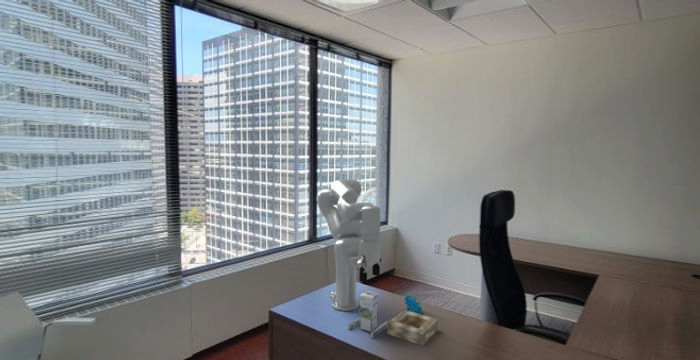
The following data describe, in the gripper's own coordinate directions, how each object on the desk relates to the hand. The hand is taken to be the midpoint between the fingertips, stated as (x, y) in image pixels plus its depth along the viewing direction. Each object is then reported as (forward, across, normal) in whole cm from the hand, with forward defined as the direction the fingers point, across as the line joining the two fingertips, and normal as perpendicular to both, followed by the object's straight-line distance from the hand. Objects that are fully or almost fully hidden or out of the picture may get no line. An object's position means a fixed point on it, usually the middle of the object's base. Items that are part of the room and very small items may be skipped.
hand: (369, 278), depth 150 cm
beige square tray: (+21, -8, +16) cm, 27 cm away
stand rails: (+21, 0, 0) cm, 21 cm away
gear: (+21, -24, +8) cm, 33 cm away
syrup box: (+21, 0, 0) cm, 21 cm away
